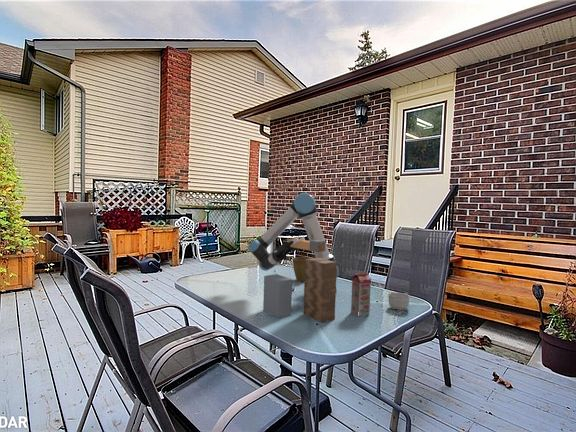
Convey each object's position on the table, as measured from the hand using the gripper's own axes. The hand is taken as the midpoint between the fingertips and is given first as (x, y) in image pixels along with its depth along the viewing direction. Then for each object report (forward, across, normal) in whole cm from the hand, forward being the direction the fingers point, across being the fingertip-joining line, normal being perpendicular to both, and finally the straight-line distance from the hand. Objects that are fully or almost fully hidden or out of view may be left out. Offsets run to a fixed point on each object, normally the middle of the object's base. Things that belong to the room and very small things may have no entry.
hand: (300, 239), depth 173 cm
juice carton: (+1, -22, -44) cm, 49 cm away
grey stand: (-20, +13, -31) cm, 39 cm away
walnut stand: (-6, -1, -40) cm, 40 cm away
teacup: (+7, -48, -47) cm, 68 cm away
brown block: (+1, 0, -6) cm, 6 cm away
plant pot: (-59, -43, -8) cm, 74 cm away
